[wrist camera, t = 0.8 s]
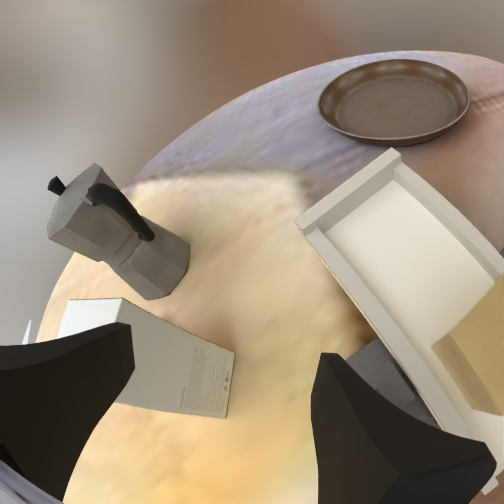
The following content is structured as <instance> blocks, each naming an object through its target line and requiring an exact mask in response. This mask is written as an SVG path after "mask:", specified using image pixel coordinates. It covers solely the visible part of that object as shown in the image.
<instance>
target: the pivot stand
mask: <svg viewBox="0 0 504 504" xmlns="http://www.w3.org/2000/svg"><path fill="white" fill-rule="evenodd" d="M499 254H500V255H501V256H502V257H503V258H504V248H503V249H502V250H501V252H500V253H499ZM345 361H346V362H347V363H348V364H349V365H350V366H351V367H352V368H353V369H354V370H355V371H356V372H357V373H358V374H359V375H360V376H361V377H362V378H363V379H364V380H365V381H366V382H367V383H368V384H369V385H370V386H371V387H372V388H373V389H375V390H376V391H377V392H378V393H379V394H381V395H382V396H383V397H384V398H386V399H387V400H388V401H390V402H391V403H392V404H394V405H395V406H397V407H398V408H400V409H401V410H403V411H404V412H406V413H408V414H409V415H411V416H413V417H415V418H417V419H419V420H421V421H422V422H424V423H426V424H428V425H433V424H434V423H435V422H437V421H436V419H435V418H434V416H433V415H432V413H431V412H430V410H429V409H428V407H427V406H426V404H425V402H424V401H423V399H422V398H421V396H420V395H419V393H418V392H417V390H416V389H415V388H414V386H413V385H412V383H411V382H410V380H409V379H408V377H407V376H406V374H405V373H404V371H403V370H402V369H401V367H400V366H399V364H398V363H397V361H396V360H395V359H394V357H393V356H392V354H391V353H390V352H389V350H388V349H387V347H386V346H385V345H384V343H383V342H382V340H381V339H380V338H379V336H378V337H377V338H375V339H374V340H373V341H371V342H370V343H369V344H367V345H366V346H365V347H363V348H362V349H361V350H359V351H358V352H357V353H355V354H354V355H352V356H351V357H350V358H348V359H347V360H345Z"/></svg>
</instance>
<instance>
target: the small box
mask: <svg viewBox="0 0 504 504" xmlns="http://www.w3.org/2000/svg"><path fill="white" fill-rule="evenodd" d="M114 322H121V323H125V324H130V325H131V330H132V341H133V351H134V360H135V370H134V372H133V374H132V376H131V378H130V379H129V381H128V383H127V385H126V386H125V388H124V389H123V391H122V392H121V393H120V395H119V396H118V397H117V399H116V400H115V401H114V402H116V403H120V404H125V405H129V406H134V407H139V408H144V409H150V410H156V411H162V412H169V413H177V414H185V415H194V416H201V417H210V418H220V419H225V417H226V411H227V404H228V397H229V391H230V384H231V377H232V370H233V363H234V356H235V353H234V352H232V351H229V350H227V349H225V348H223V347H220V346H218V345H216V344H213V343H211V342H209V341H207V340H204V339H202V338H200V337H198V336H196V335H194V334H192V333H190V332H188V331H185V330H183V329H181V328H179V327H177V326H175V325H173V324H171V323H169V322H167V321H165V320H163V319H161V318H159V317H157V316H155V315H153V314H151V313H149V312H147V311H146V310H144V309H142V308H140V307H138V306H136V305H135V304H133V303H131V302H129V301H128V300H126V299H124V298H103V299H76V300H68V303H67V306H66V309H65V312H64V315H63V319H62V322H61V325H60V328H59V331H58V335H57V339H58V338H62V337H66V336H70V335H73V334H77V333H80V332H83V331H86V330H89V329H93V328H96V327H99V326H102V325H106V324H110V323H114Z"/></svg>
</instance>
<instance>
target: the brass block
mask: <svg viewBox="0 0 504 504" xmlns="http://www.w3.org/2000/svg"><path fill="white" fill-rule="evenodd" d="M431 349H432V350H433V352H434V353H435V354H436V356H437V357H438V359H439V360H440V361H441V363H442V364H443V366H444V367H445V369H446V370H447V371H448V373H449V374H450V376H451V377H452V379H453V380H454V382H455V383H456V385H457V386H458V388H459V389H460V391H461V392H462V394H463V396H464V397H465V399H466V400H467V402H468V403H469V405H470V407H471V408H472V409H473V410H477V411H481V412H485V413H489V414H494V415H498V416H504V273H503V274H502V275H501V276H500V277H499V278H498V279H497V281H496V282H495V283H494V284H493V285H492V286H491V287H490V288H489V289H488V290H487V292H486V293H485V294H484V295H483V296H482V297H481V298H480V299H479V300H478V301H477V302H476V304H475V305H474V306H473V307H472V308H471V309H470V310H469V311H468V312H467V313H466V314H465V315H464V316H463V317H462V318H461V319H460V320H459V321H458V322H457V323H456V324H455V325H454V326H453V327H452V328H451V329H450V330H449V331H448V332H447V333H445V334H444V335H443V336H442V337H441V338H440V339H439V340H438V341H437V342H436V343H434V344H433V345H432V346H431Z"/></svg>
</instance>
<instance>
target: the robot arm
mask: <svg viewBox="0 0 504 504" xmlns="http://www.w3.org/2000/svg"><path fill="white" fill-rule="evenodd" d="M134 370H135V360H134V351H133V341H132V330H131V325H130V324H125V323H121V322H114V323H110V324H106V325H102V326H99V327H96V328H93V329H89V330H86V331H83V332H80V333H77V334H73V335H70V336H66V337H62V338H58V339H55V340H50V341H46V342H40V343H34V344H26V345H11V346H0V504H64V503H62V502H63V498H64V495H65V492H66V489H67V486H68V483H69V480H70V477H71V475H72V472H73V470H74V468H75V465H76V463H77V461H78V458H79V456H80V454H81V452H82V450H83V448H84V446H85V444H86V442H87V441H88V439H89V437H90V435H91V433H92V431H93V430H94V428H95V427H96V425H97V424H98V422H99V421H100V420H101V418H102V417H103V416H104V414H105V413H106V412H107V410H108V409H109V408H110V406H111V405H112V404H113V403H114V401H115V400H116V399H117V397H118V396H119V395H120V393H121V392H122V391H123V389H124V388H125V386H126V385H127V383H128V381H129V379H130V378H131V376H132V374H133V372H134ZM311 421H312V428H313V435H314V442H315V449H316V456H317V464H318V504H469V502H470V501H471V500H472V499H473V498H474V497H475V496H476V495H477V493H478V492H479V491H480V490H481V489H482V488H483V487H484V486H485V485H486V484H487V483H488V481H489V480H490V479H491V477H492V476H493V474H494V472H495V470H496V467H497V462H496V460H495V458H494V456H493V455H492V453H491V451H490V450H489V448H488V447H487V445H486V443H485V442H482V441H477V440H473V439H469V438H465V437H461V436H457V435H454V434H451V433H448V432H446V431H443V430H440V429H438V428H435V427H433V426H431V425H428V424H426V423H424V422H422V421H421V420H419V419H417V418H415V417H413V416H411V415H409V414H408V413H406V412H404V411H403V410H401V409H400V408H398V407H397V406H395V405H394V404H392V403H391V402H390V401H388V400H387V399H386V398H384V397H383V396H382V395H381V394H379V393H378V392H377V391H376V390H375V389H373V388H372V387H371V386H370V385H369V384H368V383H367V382H366V381H365V380H364V379H363V378H362V377H361V376H360V375H359V374H358V373H357V372H356V371H355V370H354V369H353V368H352V367H351V366H350V365H349V364H348V363H347V362H346V361H345V360H344V359H343V358H342V357H341V356H340V355H339V354H338V353H321V356H320V360H319V365H318V369H317V373H316V377H315V381H314V385H313V389H312V393H311Z"/></svg>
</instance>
